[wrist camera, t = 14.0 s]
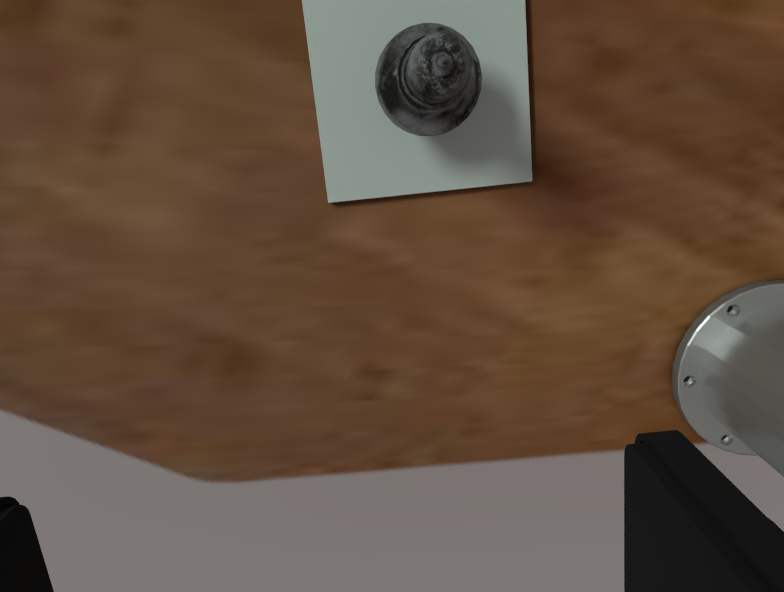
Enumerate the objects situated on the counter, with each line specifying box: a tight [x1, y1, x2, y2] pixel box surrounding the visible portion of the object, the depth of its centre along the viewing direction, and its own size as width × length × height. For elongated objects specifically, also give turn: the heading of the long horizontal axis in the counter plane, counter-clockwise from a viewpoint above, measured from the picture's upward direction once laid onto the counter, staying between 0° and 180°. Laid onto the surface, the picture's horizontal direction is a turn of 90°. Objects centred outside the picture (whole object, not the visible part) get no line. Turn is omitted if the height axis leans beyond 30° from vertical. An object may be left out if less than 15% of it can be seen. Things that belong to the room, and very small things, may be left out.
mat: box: [302, 0, 532, 203], centre depth 36 cm, size 13×13×1 cm
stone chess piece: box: [375, 23, 482, 136], centre depth 30 cm, size 6×6×12 cm
